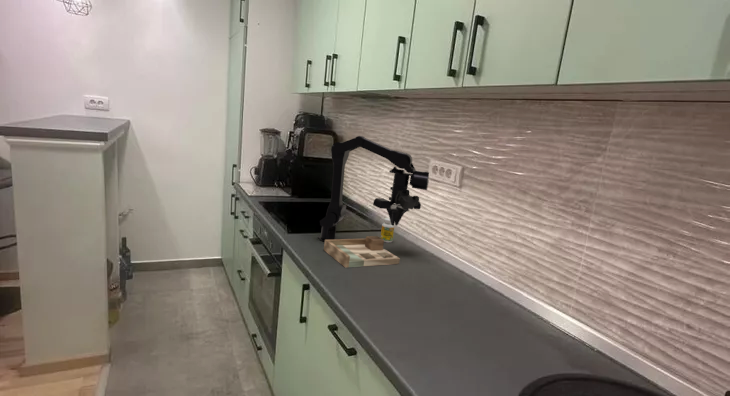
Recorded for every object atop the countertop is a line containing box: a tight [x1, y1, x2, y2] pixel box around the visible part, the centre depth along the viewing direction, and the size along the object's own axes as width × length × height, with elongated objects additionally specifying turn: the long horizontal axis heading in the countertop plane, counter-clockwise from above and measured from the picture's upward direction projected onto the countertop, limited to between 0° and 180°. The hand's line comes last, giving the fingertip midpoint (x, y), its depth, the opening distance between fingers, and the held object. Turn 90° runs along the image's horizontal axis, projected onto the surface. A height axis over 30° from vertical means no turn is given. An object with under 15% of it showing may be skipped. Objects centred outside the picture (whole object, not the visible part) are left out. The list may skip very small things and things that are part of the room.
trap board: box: [323, 237, 401, 269], centre depth 148 cm, size 18×22×4 cm
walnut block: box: [365, 235, 385, 251], centre depth 154 cm, size 5×5×4 cm
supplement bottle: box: [379, 217, 395, 243], centre depth 173 cm, size 5×5×10 cm
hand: (394, 225), depth 157 cm, fingers closed
